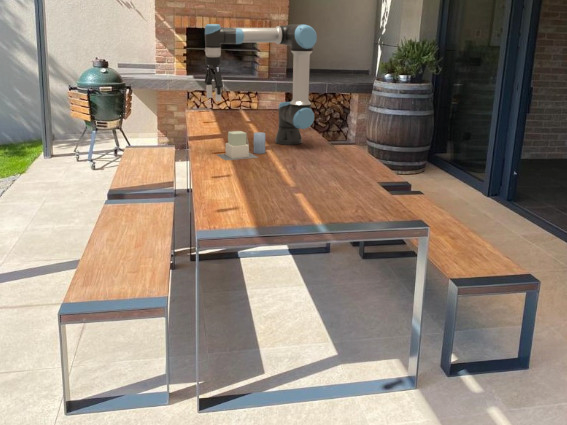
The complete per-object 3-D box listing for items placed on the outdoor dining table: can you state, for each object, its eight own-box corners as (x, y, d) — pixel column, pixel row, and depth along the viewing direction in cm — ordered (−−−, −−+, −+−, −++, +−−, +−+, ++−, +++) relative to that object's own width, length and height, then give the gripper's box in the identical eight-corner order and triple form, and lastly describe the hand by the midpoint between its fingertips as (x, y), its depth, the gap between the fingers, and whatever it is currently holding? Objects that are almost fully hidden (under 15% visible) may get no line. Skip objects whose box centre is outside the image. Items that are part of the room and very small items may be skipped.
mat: (248, 153, 336) (248, 151, 335) (259, 159, 324) (258, 157, 323) (215, 156, 328) (215, 154, 328) (225, 162, 316) (225, 160, 316)
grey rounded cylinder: (262, 152, 339) (262, 132, 336) (267, 155, 334) (267, 134, 330) (251, 153, 336) (251, 132, 333) (256, 155, 331) (256, 134, 328)
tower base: (242, 153, 331) (242, 142, 329) (248, 157, 324) (248, 145, 322) (225, 154, 328) (225, 143, 326) (232, 158, 320) (231, 146, 318)
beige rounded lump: (254, 138, 339) (236, 130, 338) (246, 155, 343) (229, 147, 341) (255, 134, 348) (238, 126, 347) (247, 150, 352) (231, 142, 350)
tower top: (240, 142, 328) (240, 130, 326) (246, 145, 322) (246, 133, 320) (228, 143, 325) (227, 131, 323) (233, 146, 319) (233, 134, 317)
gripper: (197, 54, 329) (198, 96, 335) (214, 58, 308) (215, 102, 314) (211, 54, 332) (212, 96, 338) (229, 58, 311) (229, 102, 317)
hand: (213, 99), depth 326 cm, fingers open, 13 cm apart
